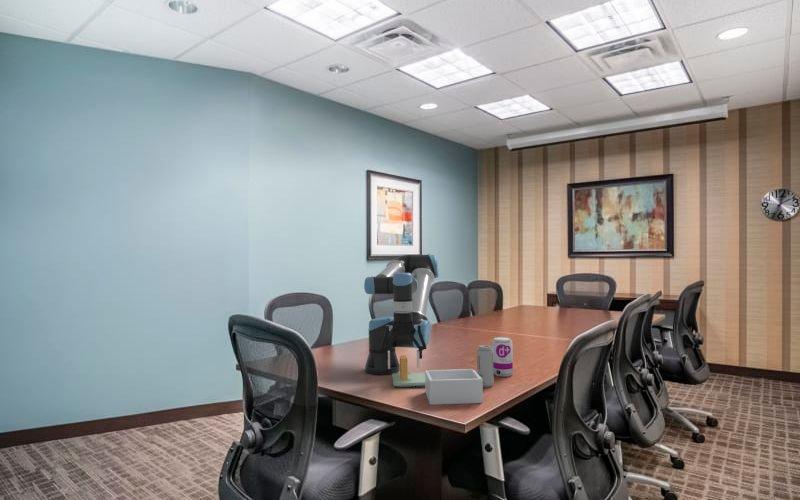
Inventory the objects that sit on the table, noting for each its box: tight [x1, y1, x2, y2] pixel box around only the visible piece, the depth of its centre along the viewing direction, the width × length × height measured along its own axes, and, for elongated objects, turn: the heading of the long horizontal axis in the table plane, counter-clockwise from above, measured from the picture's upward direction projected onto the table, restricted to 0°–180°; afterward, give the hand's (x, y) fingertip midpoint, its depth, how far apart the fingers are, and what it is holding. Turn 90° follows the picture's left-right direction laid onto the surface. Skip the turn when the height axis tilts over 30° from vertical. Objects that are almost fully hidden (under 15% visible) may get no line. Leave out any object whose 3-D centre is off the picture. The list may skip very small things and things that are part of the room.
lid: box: [391, 354, 425, 388], centre depth 179 cm, size 19×15×10 cm
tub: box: [424, 368, 484, 405], centre depth 160 cm, size 18×14×8 cm
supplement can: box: [491, 336, 514, 378], centre depth 189 cm, size 8×8×15 cm
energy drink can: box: [476, 344, 495, 388], centre depth 174 cm, size 6×6×15 cm
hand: (403, 367), depth 179 cm, fingers open, 11 cm apart
